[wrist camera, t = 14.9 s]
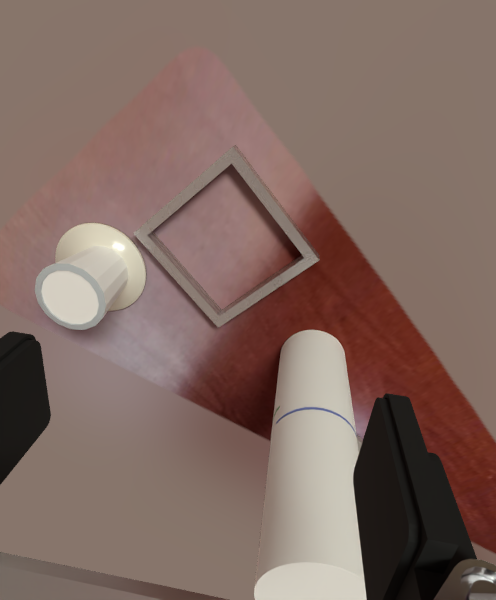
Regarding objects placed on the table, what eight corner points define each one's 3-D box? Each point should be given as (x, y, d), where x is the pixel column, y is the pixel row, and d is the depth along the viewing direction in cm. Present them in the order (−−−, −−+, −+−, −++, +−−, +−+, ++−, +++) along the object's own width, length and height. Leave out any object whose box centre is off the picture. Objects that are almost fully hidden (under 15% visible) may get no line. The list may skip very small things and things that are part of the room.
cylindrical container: (358, 358, 45) (408, 611, 23) (312, 394, 48) (315, 648, 26) (312, 317, 44) (316, 544, 21) (267, 356, 46) (229, 592, 24)
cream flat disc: (165, 277, 44) (164, 278, 43) (105, 324, 48) (103, 326, 47) (97, 202, 41) (95, 203, 41) (39, 258, 45) (37, 259, 44)
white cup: (118, 310, 46) (89, 343, 40) (63, 277, 45) (24, 305, 39) (144, 263, 43) (117, 290, 37) (86, 226, 42) (47, 248, 36)
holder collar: (318, 254, 40) (319, 260, 39) (220, 321, 45) (218, 327, 44) (235, 144, 37) (232, 146, 36) (138, 229, 42) (133, 233, 40)
